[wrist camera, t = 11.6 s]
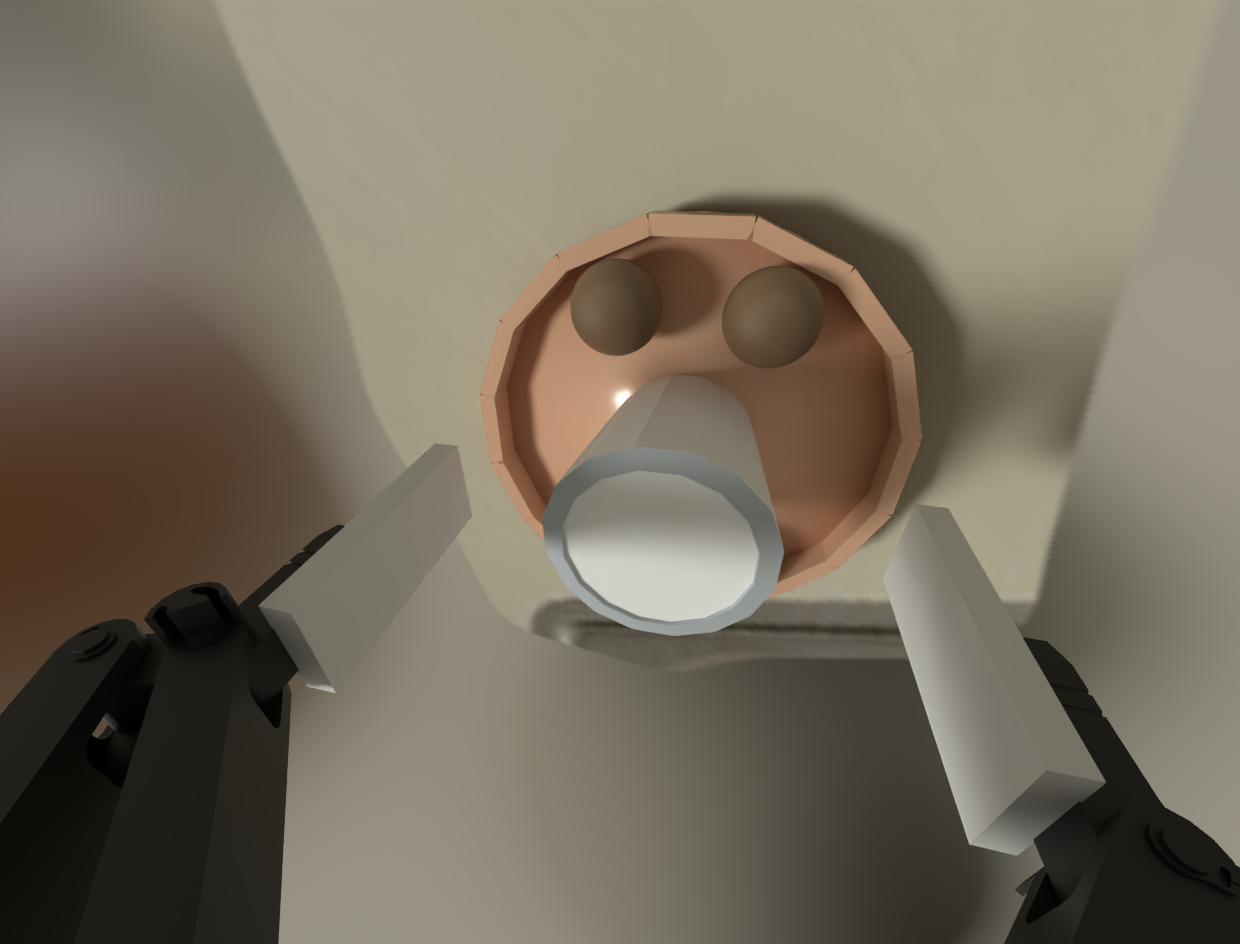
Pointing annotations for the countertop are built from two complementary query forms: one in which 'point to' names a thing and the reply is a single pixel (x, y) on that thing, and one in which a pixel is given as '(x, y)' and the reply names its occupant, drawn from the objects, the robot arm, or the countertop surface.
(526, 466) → the tray
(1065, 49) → the countertop surface
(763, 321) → the bead
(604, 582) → the white cup
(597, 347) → the bead
